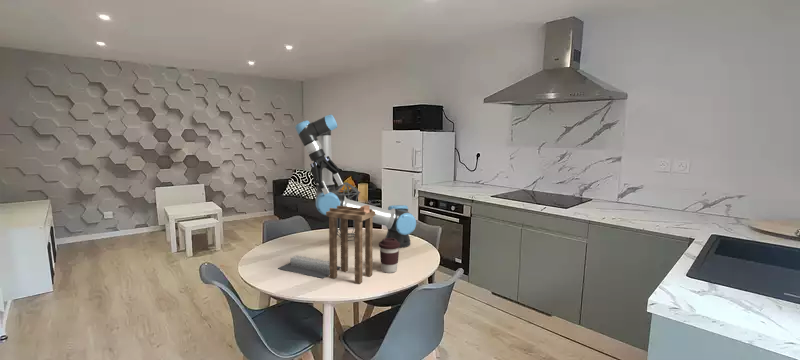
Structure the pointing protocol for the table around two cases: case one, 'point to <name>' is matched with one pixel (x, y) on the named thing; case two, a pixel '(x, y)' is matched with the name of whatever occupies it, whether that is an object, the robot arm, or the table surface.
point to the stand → (346, 214)
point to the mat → (305, 271)
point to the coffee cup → (389, 254)
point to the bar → (311, 264)
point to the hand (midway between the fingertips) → (334, 189)
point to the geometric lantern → (349, 199)
